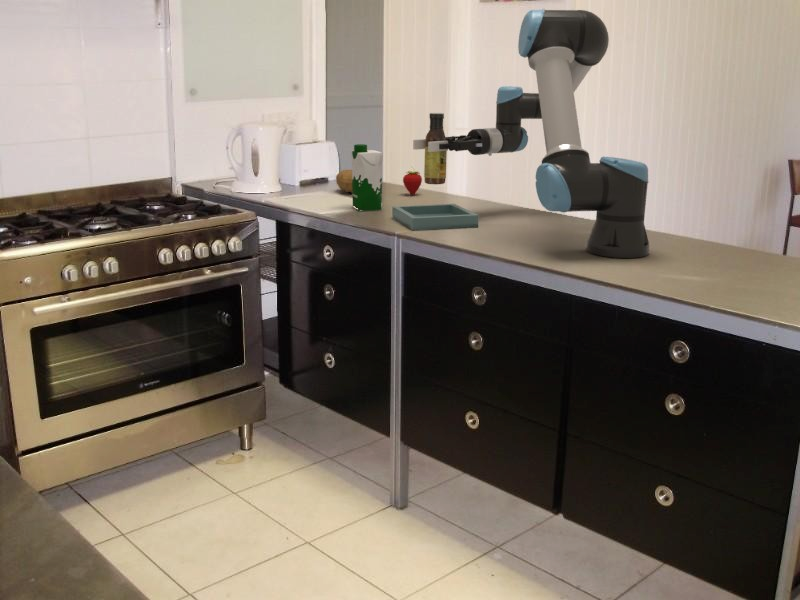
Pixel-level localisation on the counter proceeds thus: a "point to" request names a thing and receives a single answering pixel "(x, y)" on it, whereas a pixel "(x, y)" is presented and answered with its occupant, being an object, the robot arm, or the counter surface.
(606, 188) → the robot arm
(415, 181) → the strawberry
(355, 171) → the milk carton
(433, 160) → the sauce bottle
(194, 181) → the counter surface
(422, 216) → the tray
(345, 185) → the potato
